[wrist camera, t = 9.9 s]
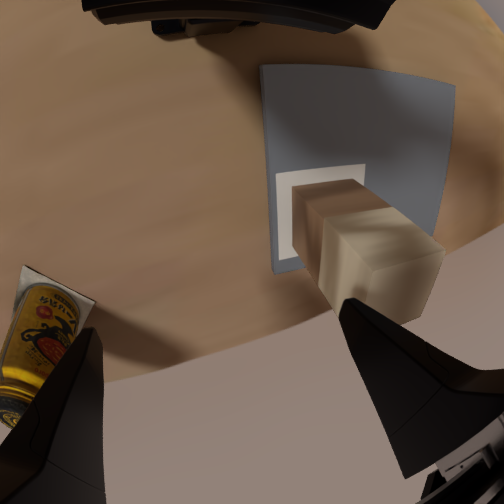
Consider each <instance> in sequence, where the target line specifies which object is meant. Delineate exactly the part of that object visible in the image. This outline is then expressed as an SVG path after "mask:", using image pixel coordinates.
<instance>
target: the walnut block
mask: <svg viewBox="0 0 504 504" xmlns="http://www.w3.org/2000/svg"><path fill="white" fill-rule="evenodd" d="M389 207H392V206H391V205H389V204H388V203H387V202H385V201H384V200H382V199H381V198H380V197H378V196H377V195H376V194H374V193H373V192H371V191H370V190H369V189H367V188H366V187H364V186H363V185H361V184H360V183H359V182H357V181H356V180H354V179H344V180H336V181H328V182H320V183H313V184H306V185H298V186H292V247H293V248H294V250H295V251H296V253H297V254H298V256H299V257H300V259H301V260H302V262H303V264H304V265H305V267H306V268H307V270H308V271H309V273H310V274H311V276H312V277H313V279H314V281H315V282H316V284H317V285H318V282H319V272H320V262H321V251H322V240H323V227H324V218H326V217H332V216H338V215H344V214H350V213H357V212H363V211H369V210H376V209H382V208H389Z"/></svg>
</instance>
